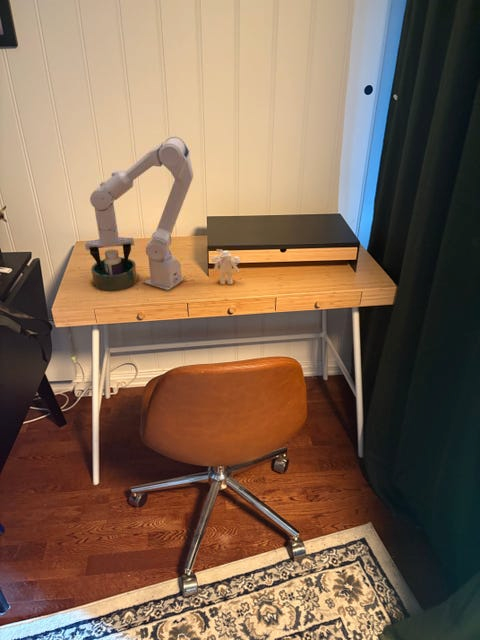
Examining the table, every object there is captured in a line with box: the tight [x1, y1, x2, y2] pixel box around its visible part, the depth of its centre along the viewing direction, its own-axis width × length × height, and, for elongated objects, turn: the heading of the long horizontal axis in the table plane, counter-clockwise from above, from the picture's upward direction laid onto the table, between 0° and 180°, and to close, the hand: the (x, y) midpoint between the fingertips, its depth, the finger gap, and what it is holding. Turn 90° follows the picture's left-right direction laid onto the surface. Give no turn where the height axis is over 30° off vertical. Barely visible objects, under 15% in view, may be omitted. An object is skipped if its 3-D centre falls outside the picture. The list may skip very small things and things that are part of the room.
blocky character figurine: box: [211, 248, 242, 285], centre depth 148 cm, size 9×4×12 cm, turn 86°
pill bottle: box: [103, 248, 123, 275], centre depth 150 cm, size 5×5×10 cm
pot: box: [90, 256, 138, 292], centre depth 152 cm, size 14×14×5 cm
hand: (113, 267), depth 150 cm, fingers open, 7 cm apart
